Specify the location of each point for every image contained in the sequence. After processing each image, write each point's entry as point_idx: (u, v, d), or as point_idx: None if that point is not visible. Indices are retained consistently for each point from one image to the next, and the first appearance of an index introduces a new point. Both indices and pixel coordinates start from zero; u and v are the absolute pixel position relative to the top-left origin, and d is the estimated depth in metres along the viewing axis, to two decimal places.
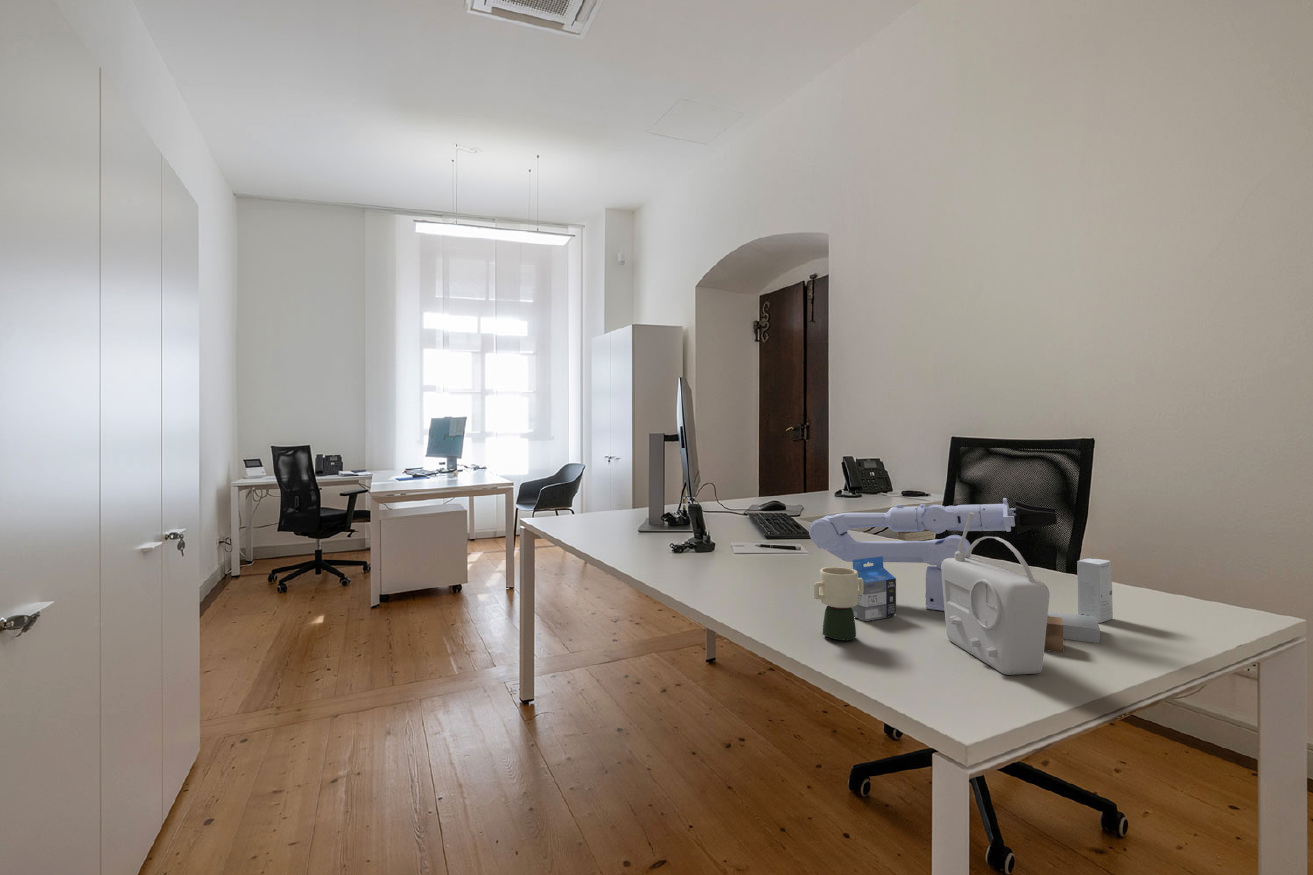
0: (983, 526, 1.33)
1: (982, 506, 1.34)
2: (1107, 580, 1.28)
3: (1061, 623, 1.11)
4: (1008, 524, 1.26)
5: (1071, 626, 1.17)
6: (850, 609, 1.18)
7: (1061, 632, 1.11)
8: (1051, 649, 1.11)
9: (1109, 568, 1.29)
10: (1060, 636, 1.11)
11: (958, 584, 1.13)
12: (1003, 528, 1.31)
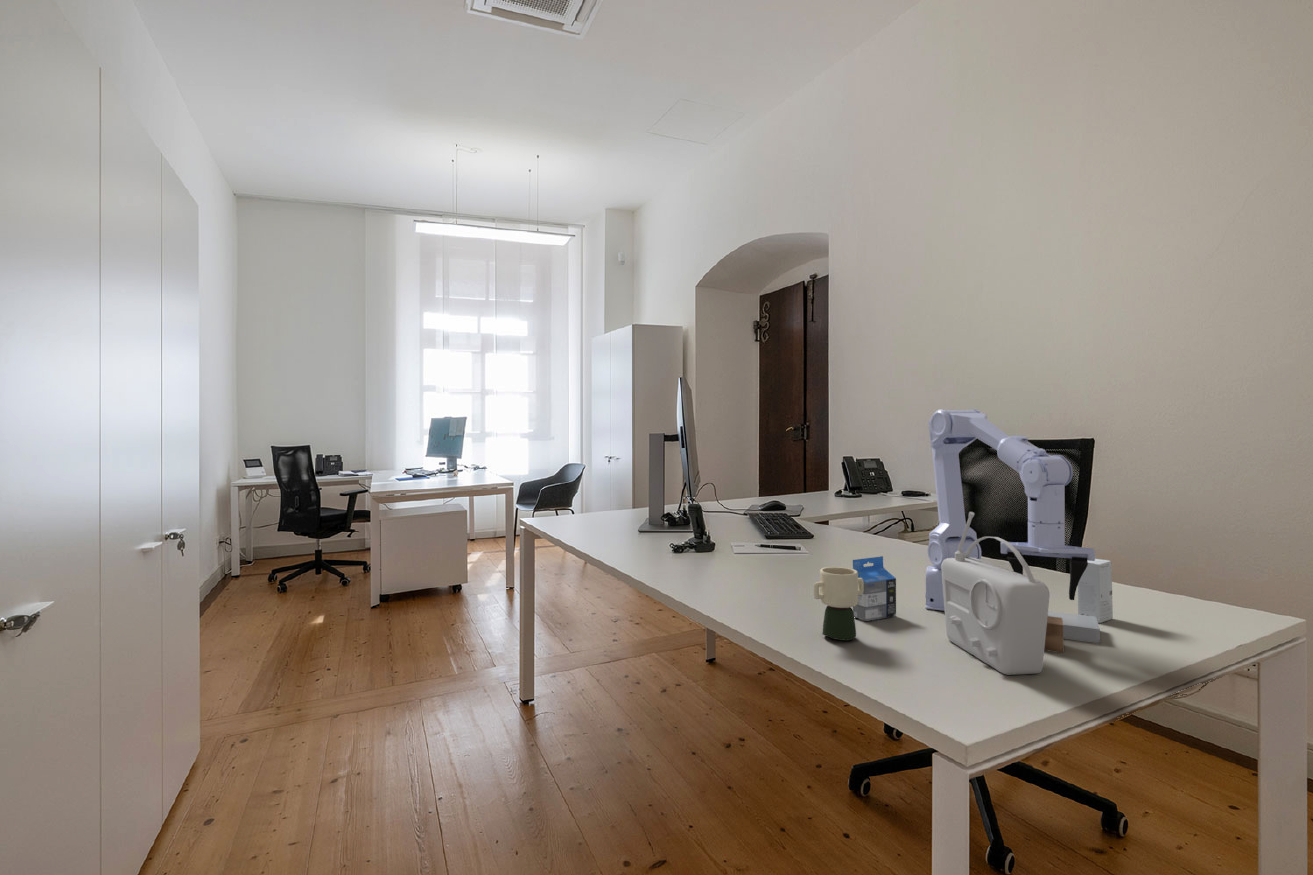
0: None
1: (1038, 525, 1.12)
2: (1107, 580, 1.28)
3: (1061, 623, 1.11)
4: None
5: (1071, 626, 1.17)
6: (850, 609, 1.18)
7: (1061, 632, 1.11)
8: (1051, 649, 1.11)
9: (1109, 568, 1.29)
10: (1060, 636, 1.11)
11: (958, 584, 1.13)
12: None
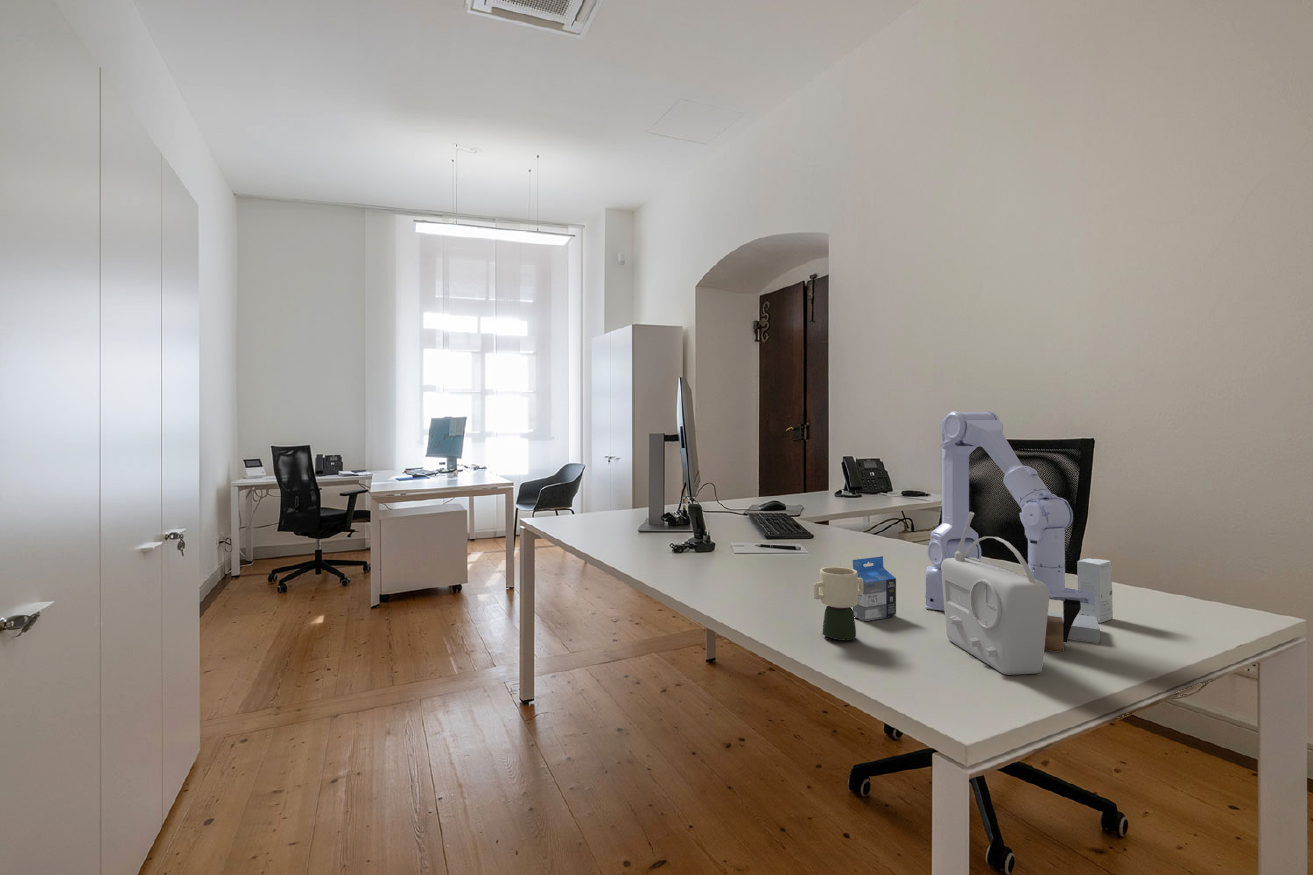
0: None
1: (1038, 568, 1.12)
2: (1107, 580, 1.28)
3: (1061, 622, 1.11)
4: None
5: (1071, 626, 1.17)
6: (850, 609, 1.18)
7: (1061, 631, 1.11)
8: (1051, 648, 1.11)
9: (1109, 568, 1.29)
10: (1060, 636, 1.11)
11: (958, 584, 1.13)
12: None
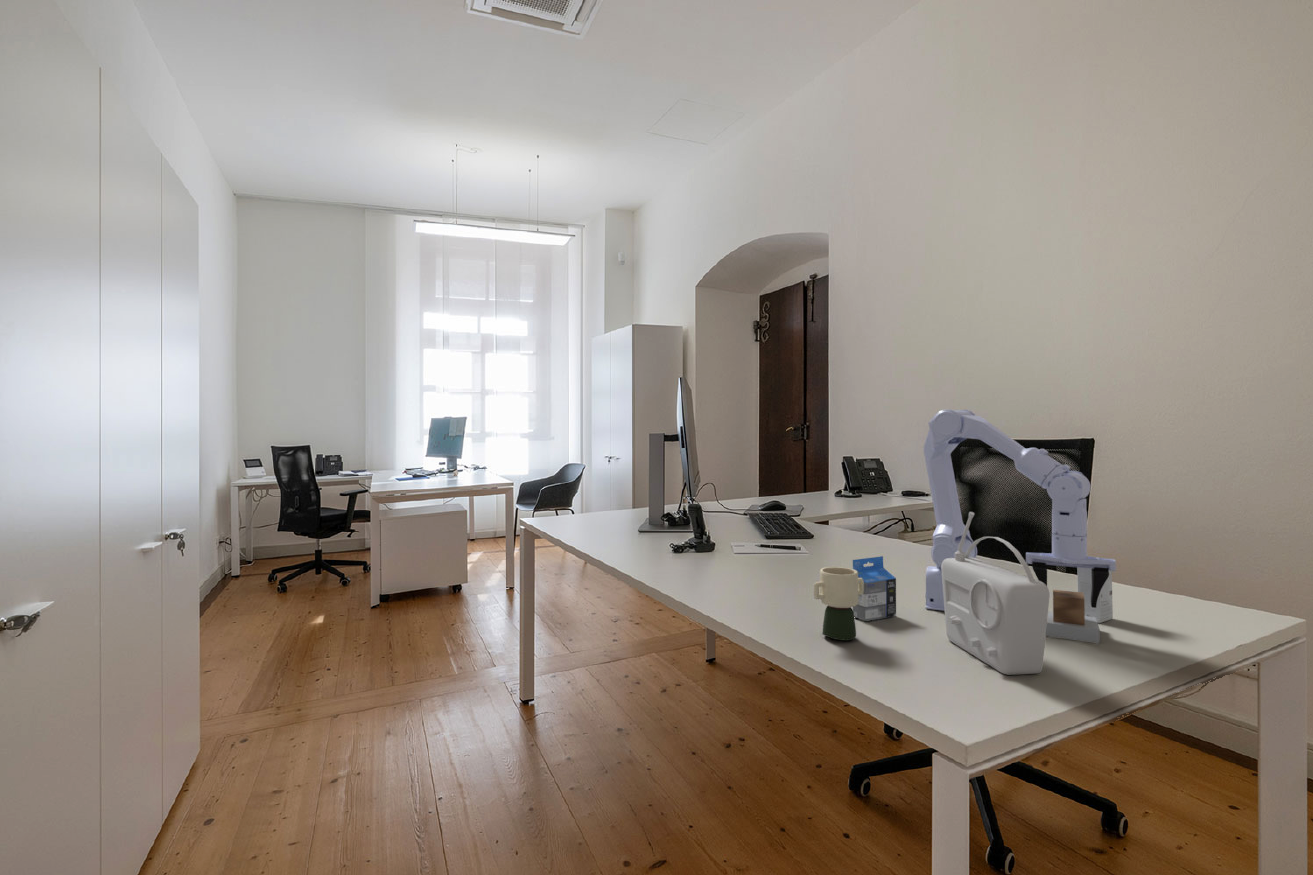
0: None
1: (1062, 537, 1.19)
2: (1107, 580, 1.28)
3: (1082, 597, 1.18)
4: None
5: (1071, 626, 1.17)
6: (850, 609, 1.18)
7: (1082, 605, 1.18)
8: (1073, 622, 1.18)
9: None
10: (1081, 609, 1.18)
11: (958, 584, 1.13)
12: None
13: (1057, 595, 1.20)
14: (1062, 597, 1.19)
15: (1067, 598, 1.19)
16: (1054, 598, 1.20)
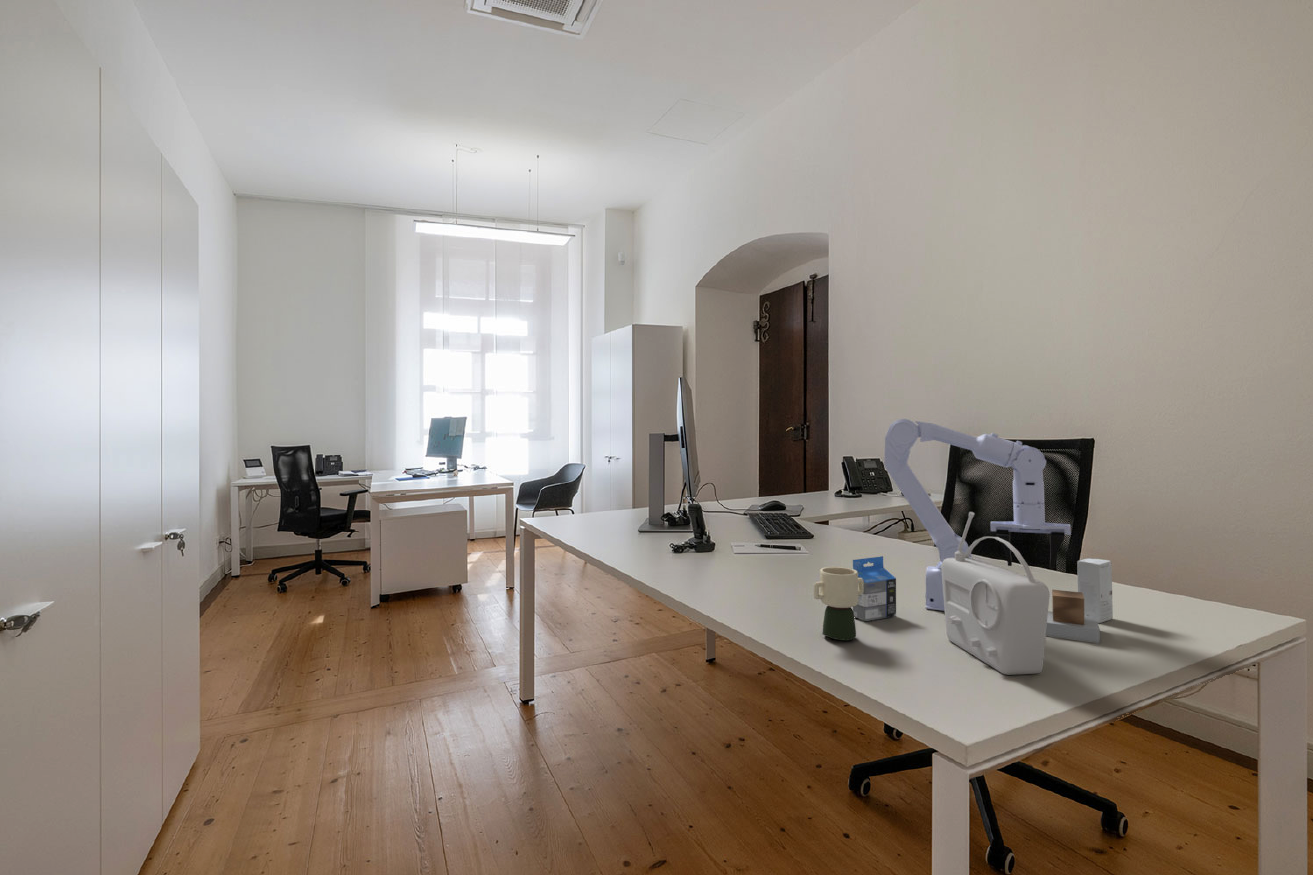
0: None
1: (1021, 505, 1.31)
2: (1107, 580, 1.28)
3: (1082, 597, 1.19)
4: None
5: (1071, 626, 1.17)
6: (850, 609, 1.18)
7: (1082, 605, 1.18)
8: (1073, 621, 1.19)
9: (1109, 568, 1.29)
10: (1081, 609, 1.18)
11: (958, 584, 1.13)
12: None
13: (1057, 595, 1.20)
14: (1062, 597, 1.20)
15: (1067, 598, 1.19)
16: (1054, 598, 1.20)
